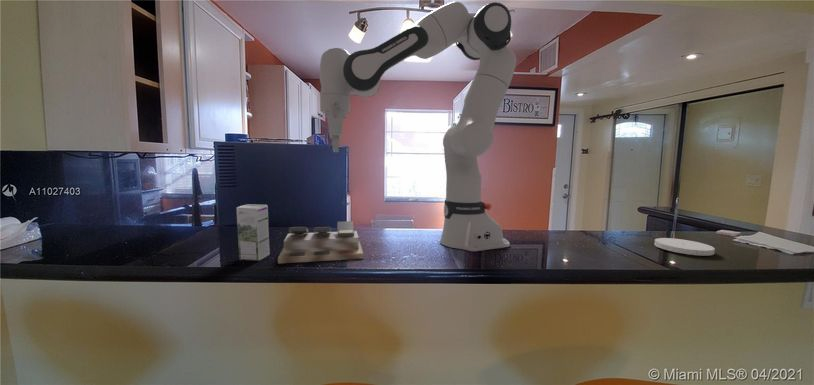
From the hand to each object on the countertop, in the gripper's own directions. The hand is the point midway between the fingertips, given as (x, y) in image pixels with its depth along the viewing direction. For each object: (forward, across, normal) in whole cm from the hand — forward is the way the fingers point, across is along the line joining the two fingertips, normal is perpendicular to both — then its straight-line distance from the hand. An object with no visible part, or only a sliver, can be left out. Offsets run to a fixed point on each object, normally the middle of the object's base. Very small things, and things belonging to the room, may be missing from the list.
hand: (335, 152), depth 94 cm
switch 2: (+22, -8, -3) cm, 24 cm away
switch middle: (+22, -8, +4) cm, 24 cm away
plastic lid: (+30, -26, -106) cm, 113 cm away
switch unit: (+29, -9, +4) cm, 31 cm away
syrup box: (+29, -9, +22) cm, 38 cm away
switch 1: (+22, -8, +10) cm, 26 cm away
